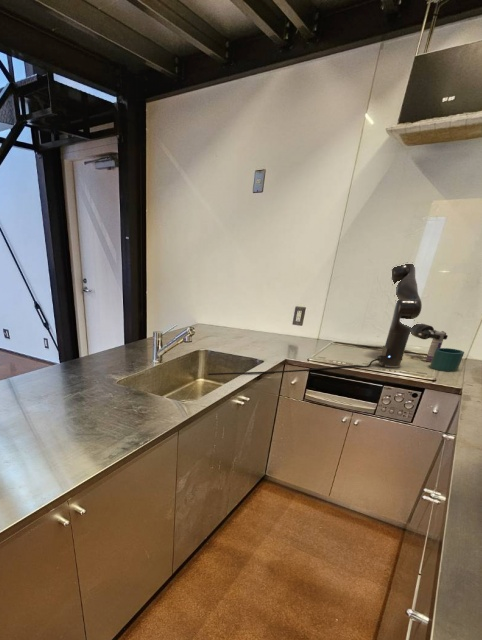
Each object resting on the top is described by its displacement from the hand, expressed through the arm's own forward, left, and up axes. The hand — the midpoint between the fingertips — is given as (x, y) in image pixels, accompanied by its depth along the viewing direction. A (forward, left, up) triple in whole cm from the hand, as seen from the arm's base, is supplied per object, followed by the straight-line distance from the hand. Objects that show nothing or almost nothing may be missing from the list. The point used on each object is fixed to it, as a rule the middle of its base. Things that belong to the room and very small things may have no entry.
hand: (442, 337), depth 198 cm
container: (-1, +3, -13) cm, 14 cm away
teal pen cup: (0, -11, -13) cm, 17 cm away
